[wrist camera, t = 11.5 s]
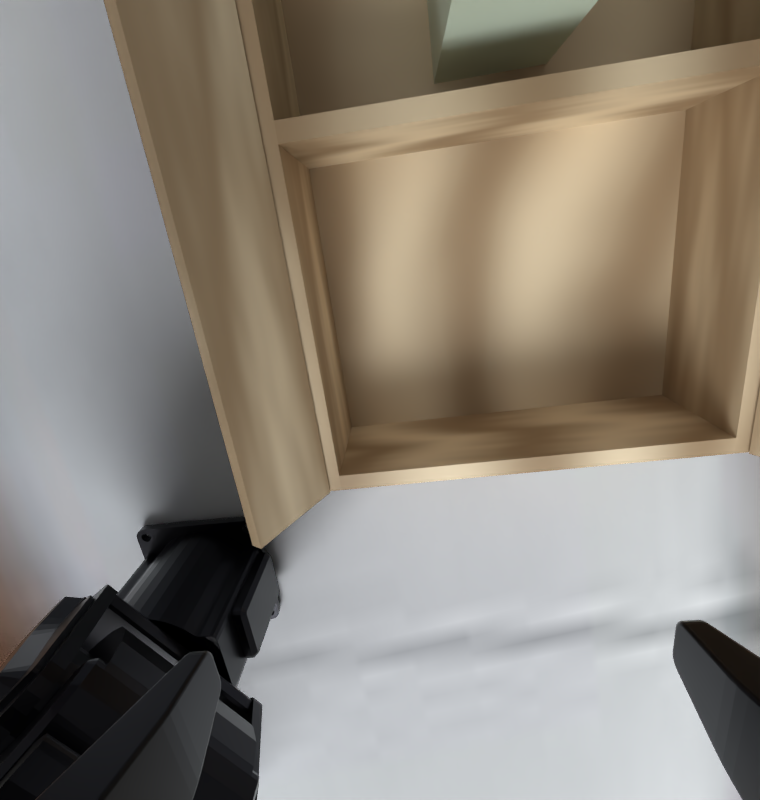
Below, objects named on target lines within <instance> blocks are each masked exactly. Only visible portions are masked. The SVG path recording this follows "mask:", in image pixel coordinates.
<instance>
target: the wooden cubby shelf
mask: <svg viewBox="0 0 760 800" xmlns="http://www.w3.org/2000/svg"><path fill="white" fill-rule="evenodd" d="M104 4H105V7H106V11H107V15H108V18H109V22H110V26H111V29H112V33H113V37H114V40H115V44H116V48H117V51H118V55H119V59H120V62H121V66H122V70H123V73H124V77H125V81H126V84H127V88H128V92H129V95H130V99H131V103H132V106H133V110H134V113H135V117H136V121H137V124H138V128H139V132H140V135H141V139H142V143H143V146H144V150H145V154H146V157H147V161H148V165H149V168H150V172H151V176H152V179H153V183H154V187H155V190H156V194H157V198H158V201H159V205H160V209H161V212H162V216H163V220H164V223H165V227H166V231H167V234H168V238H169V242H170V245H171V249H172V253H173V256H174V260H175V264H176V267H177V271H178V274H179V278H180V282H181V285H182V289H183V293H184V296H185V300H186V304H187V307H188V311H189V315H190V318H191V322H192V326H193V329H194V333H195V337H196V340H197V344H198V348H199V351H200V355H201V359H202V362H203V366H204V370H205V373H206V377H207V381H208V384H209V388H210V392H211V395H212V399H213V403H214V406H215V410H216V414H217V417H218V421H219V424H220V428H221V432H222V435H223V439H224V443H225V446H226V450H227V454H228V457H229V461H230V465H231V468H232V472H233V476H234V479H235V483H236V487H237V490H238V494H239V498H240V501H241V505H242V509H243V512H244V516H245V520H246V523H247V527H248V531H249V534H250V538H251V542H252V545H253V546H255V547H258V548H260V549H262V548H263V547H264V546H265V545H267V544H268V543H269V542H270V541H271V540H273V539H274V538H275V537H276V536H278V535H279V534H280V533H281V532H282V531H284V530H285V529H286V528H287V527H289V526H290V525H291V524H292V523H293V522H295V521H296V520H297V519H298V518H300V517H301V516H302V515H303V514H304V513H306V512H307V511H308V510H309V509H311V508H312V507H313V506H314V505H315V504H317V503H318V502H319V501H320V500H322V499H323V498H324V497H325V496H326V495H328V494H329V493H330V491H336V490H346V489H357V488H368V487H379V486H389V485H400V484H411V483H422V482H432V481H443V480H454V479H465V478H475V477H486V476H497V475H508V474H518V473H529V472H540V471H551V470H561V469H572V468H583V467H594V466H604V465H615V464H626V463H636V462H647V461H658V460H669V459H679V458H690V457H701V456H712V455H722V454H733V453H744V452H749V454H752V455H756V456H759V457H760V0H598V1H597V2H596V4H595V5H594V6H593V7H592V9H591V10H590V11H589V12H588V13H587V15H586V16H585V17H584V18H583V20H582V21H581V22H580V23H579V24H578V26H577V27H576V28H575V29H574V31H573V32H572V33H571V34H570V36H569V37H568V38H567V39H566V40H565V42H564V43H563V44H562V45H561V47H560V48H559V49H558V50H557V52H556V53H555V54H554V55H553V56H552V58H551V59H550V60H549V61H548V63H547V64H544V65H538V66H532V67H527V68H521V69H515V70H510V71H504V72H499V73H493V74H487V75H482V76H476V77H471V78H465V79H459V80H454V81H448V82H442V83H437V84H434V77H433V65H432V53H431V41H430V29H429V17H428V5H427V0H104Z"/></svg>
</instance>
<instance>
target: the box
mask: <svg viewBox="0 0 760 800" xmlns="http://www.w3.org/2000/svg"><path fill="white" fill-rule="evenodd" d="M597 1H598V0H427V5H428V17H429V29H430V41H431V53H432V65H433V77H434V84H437V83H442V82H448V81H454V80H459V79H465V78H471V77H476V76H482V75H487V74H493V73H499V72H504V71H510V70H515V69H521V68H527V67H532V66H538V65H544V64H547V63H548V61H549V60H550V59H551V58H552V56H553V55H554V54H555V53H556V52H557V50H558V49H559V48H560V47H561V45H562V44H563V43H564V42H565V40H566V39H567V38H568V37H569V36H570V34H571V33H572V32H573V31H574V29H575V28H576V27H577V26H578V24H579V23H580V22H581V21H582V20H583V18H584V17H585V16H586V15H587V13H588V12H589V11H590V10H591V9H592V7H593V6H594V5H595V4H596V2H597Z"/></svg>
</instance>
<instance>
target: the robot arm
mask: <svg viewBox="0 0 760 800" xmlns="http://www.w3.org/2000/svg"><path fill="white" fill-rule="evenodd" d="M245 525H247V523H246V520H245V517H235V518H224V519H213V520H202V521H190V522H179V523H168V524H157V525H147V526H144V527H143V528H142V529H141V530H140V531H139V532H138V534H137V539H138V542H139V545H140V547H141V550H142V553H143V555H144V558H145V560H144V561H143V563H142V564H141V565H140V566H139V568H138V569H137V570H136V571H135V573H134V574H133V575H132V576H131V578H130V579H129V580H128V581H127V583H126V584H125V585H124V586H123V587H122V589H121V590H120V591H119V592H117V591H116V590H115V589H113V588H112V587H111V586H109V585H108V584H107V585H106V586H105V587H103V588H102V589H101V590H100V591H99V592H98V593H96V594H95V595H94V596H93V597H92V596H89V597H88V598H86V597H84V598H74V597H65V598H63V599H62V600H61V601H60V602H59V603H58V604H57V605H56V606H55V607H54V608H53V609H52V610H51V611H50V612H49V613H48V614H47V615H46V616H45V617H44V618H43V619H42V620H41V621H40V622H39V623H38V624H37V626H36V627H35V628H34V629H33V630H32V631H31V632H30V633H29V634H28V635H27V636H26V637H25V638H24V640H23V641H22V642H21V643H20V644H19V645H18V646H17V648H16V649H15V650H14V651H13V652H12V654H11V655H10V656H9V657H8V659H7V660H6V661H5V662H4V663H3V665H2V666H1V667H0V800H257V793H258V787H259V758H260V738H261V719H262V704H261V703H259V702H258V701H257V700H256V699H254V698H253V697H252V698H249V697H248V696H246V695H245V694H244V693H242V692H241V691H240V690H239V689H237V685H238V682H239V679H240V677H241V674H242V671H243V669H244V666H245V663H246V660H247V658H253V657H255V656H256V655H257V654H258V652H259V650H260V647H261V644H262V642H263V639H264V636H265V633H266V630H267V627H268V624H269V621H270V619H273V618H276V617H277V616H278V614H279V611H280V603H279V599H278V595H279V592H280V590H279V586H278V582H277V578H276V574H275V570H274V567H273V563H272V559H271V556H270V555H269V554H268V552H266V550H265V546H264V547H263V548H262V549H260V548H258V547H255V546H253V545H252V542H251V538H250V534H249V531H248V528H247V527H246V526H245ZM146 534H148V535H150V537H149V536H147V535H146ZM117 593H118V594H117ZM673 659H674V663H675V666H676V668H677V671H678V673H679V675H680V677H681V679H682V681H683V683H684V685H685V688H686V690H687V692H688V694H689V696H690V698H691V700H692V702H693V704H694V707H695V709H696V711H697V713H698V715H699V717H700V719H701V721H702V723H703V726H704V728H705V730H706V732H707V734H708V736H709V738H710V740H711V742H712V745H713V747H714V749H715V751H716V753H717V755H718V757H719V759H720V761H721V763H722V765H723V766H724V768H725V770H726V772H727V774H728V775H729V777H730V779H731V781H732V782H733V784H734V786H735V788H736V789H737V791H738V793H739V794H740V796H741V798H742V800H760V657H758V656H757V655H755V654H754V653H752V652H751V651H749V650H748V649H746V648H745V647H743V646H742V645H740V644H739V643H737V642H736V641H734V640H733V639H731V638H729V637H728V636H726V635H725V634H723V633H722V632H720V631H719V630H717V629H716V628H714V627H713V626H711V625H710V624H708V623H706V622H704V621H702V620H688V621H680V622H678V623H677V625H676V631H675V639H674V647H673Z"/></svg>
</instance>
